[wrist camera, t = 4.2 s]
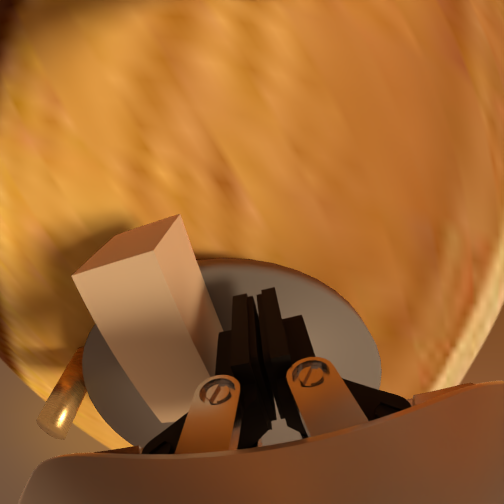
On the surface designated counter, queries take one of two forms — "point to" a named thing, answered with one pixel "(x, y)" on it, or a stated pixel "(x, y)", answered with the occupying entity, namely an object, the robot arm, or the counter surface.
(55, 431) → the brown rounded oblong piece
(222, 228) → the counter surface
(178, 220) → the disc
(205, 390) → the robot arm
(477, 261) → the counter surface
